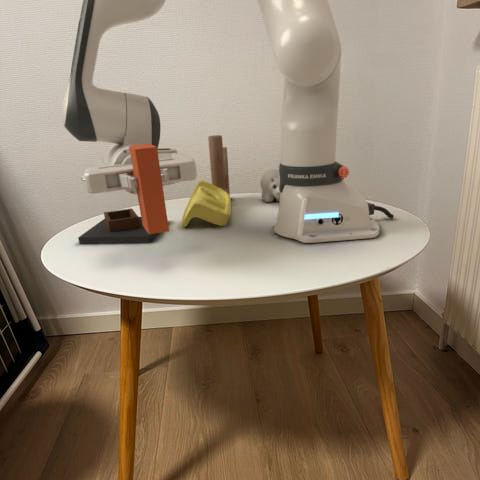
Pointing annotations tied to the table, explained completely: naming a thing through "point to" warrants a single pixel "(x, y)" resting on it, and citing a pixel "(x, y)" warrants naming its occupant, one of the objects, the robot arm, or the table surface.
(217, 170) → the wooden block
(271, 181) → the round bodied animal figurine
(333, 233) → the robot arm
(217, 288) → the table surface
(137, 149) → the orange rectangular block
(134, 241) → the base pad
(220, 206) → the plastic component
